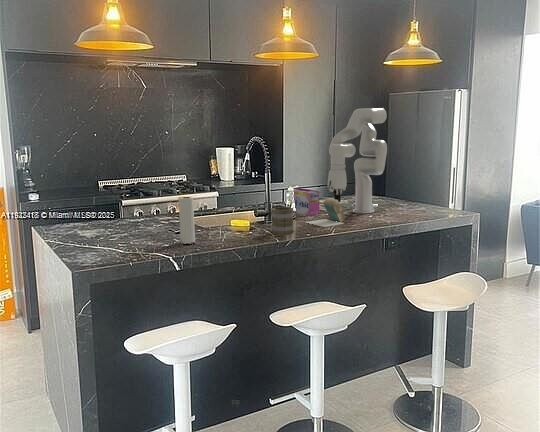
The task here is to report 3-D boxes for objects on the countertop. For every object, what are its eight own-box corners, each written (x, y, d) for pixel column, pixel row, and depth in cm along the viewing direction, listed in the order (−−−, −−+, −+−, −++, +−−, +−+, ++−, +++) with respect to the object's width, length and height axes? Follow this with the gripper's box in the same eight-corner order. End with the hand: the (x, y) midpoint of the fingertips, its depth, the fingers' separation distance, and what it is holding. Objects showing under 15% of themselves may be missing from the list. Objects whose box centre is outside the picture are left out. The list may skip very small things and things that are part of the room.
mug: (295, 234, 260) (295, 209, 258) (273, 235, 258) (273, 211, 256) (289, 228, 275) (289, 204, 273) (268, 229, 273) (268, 205, 271)
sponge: (335, 216, 295) (327, 198, 290) (345, 218, 288) (337, 199, 283) (330, 220, 293) (322, 202, 288) (340, 222, 287) (332, 204, 282)
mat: (324, 219, 296) (324, 219, 296) (344, 223, 283) (344, 223, 283) (304, 222, 288) (304, 222, 288) (324, 227, 275) (324, 226, 275)
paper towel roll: (196, 244, 242) (194, 197, 238) (182, 245, 241) (180, 198, 237) (193, 241, 249) (191, 195, 245) (180, 242, 247) (178, 196, 244)
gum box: (285, 210, 328) (284, 188, 325) (295, 209, 332) (295, 187, 330) (309, 216, 308) (309, 192, 306) (320, 214, 313) (320, 191, 310)
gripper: (343, 166, 293) (343, 199, 296) (322, 168, 284) (322, 202, 288) (353, 167, 287) (352, 201, 290) (331, 168, 278) (331, 204, 281)
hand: (337, 201), depth 289 cm, fingers closed
